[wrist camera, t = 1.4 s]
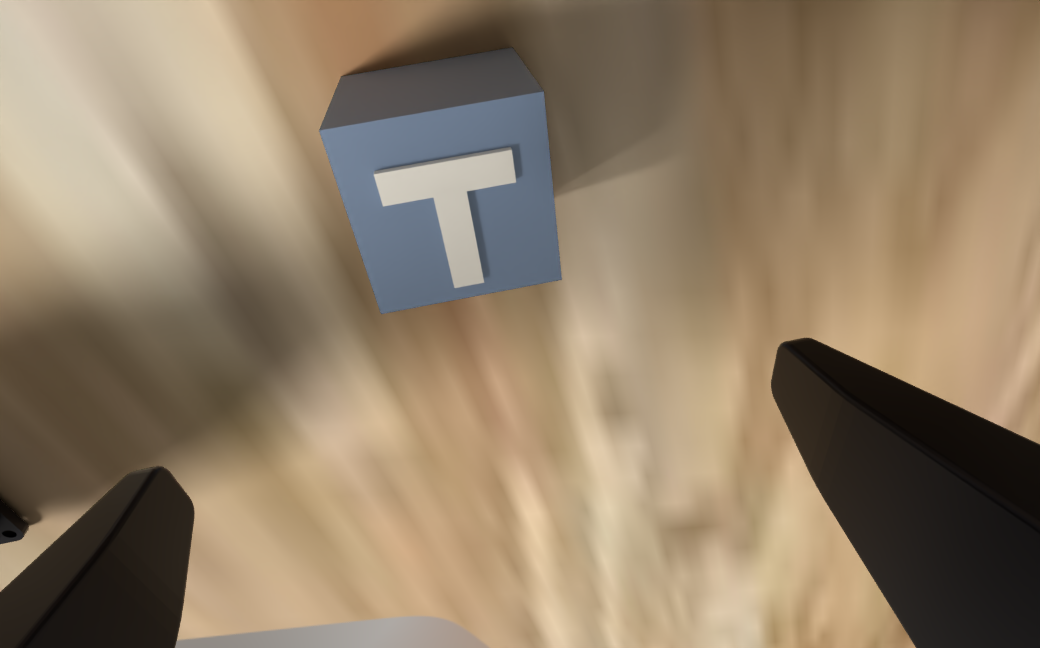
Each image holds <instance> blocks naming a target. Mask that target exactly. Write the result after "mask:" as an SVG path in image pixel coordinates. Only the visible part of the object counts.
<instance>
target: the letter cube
mask: <svg viewBox="0 0 1040 648" xmlns="http://www.w3.org/2000/svg"><path fill="white" fill-rule="evenodd" d="M319 132H320V135H321V138H322V141H323V144H324V147H325V150H326V152H327V155H328V158H329V161H330V164H331V167H332V170H333V173H334V176H335V179H336V182H337V185H338V188H339V191H340V194H341V197H342V200H343V203H344V206H345V209H346V212H347V215H348V218H349V221H350V224H351V227H352V230H353V233H354V236H355V238H356V241H357V244H358V247H359V250H360V253H361V256H362V259H363V262H364V265H365V268H366V271H367V274H368V277H369V280H370V283H371V286H372V289H373V292H374V295H375V298H376V301H377V304H378V307H379V310H380V313H381V314H384V313H389V312H395V311H400V310H405V309H410V308H416V307H421V306H426V305H431V304H437V303H442V302H447V301H452V300H458V299H463V298H468V297H473V296H479V295H484V294H489V293H494V292H500V291H505V290H510V289H516V288H521V287H526V286H531V285H537V284H542V283H547V282H552V281H558V280H562V277H561V267H560V256H559V246H558V235H557V225H556V214H555V204H554V193H553V183H552V172H551V162H550V151H549V141H548V130H547V120H546V109H545V99H544V91H543V90H542V88H541V87H540V85H539V84H538V83H537V81H536V80H535V78H534V77H533V76H532V74H531V73H530V71H529V70H528V68H527V67H526V66H525V64H524V63H523V61H522V60H521V59H520V57H519V56H518V54H517V53H516V52H515V50H514V49H513V47H512V48H506V49H500V50H494V51H488V52H482V53H476V54H470V55H465V56H459V57H453V58H447V59H441V60H435V61H429V62H423V63H418V64H412V65H406V66H400V67H394V68H388V69H382V70H376V71H370V72H365V73H359V74H353V75H347V76H341V78H340V81H339V83H338V85H337V88H336V90H335V93H334V95H333V98H332V100H331V103H330V105H329V107H328V110H327V112H326V115H325V117H324V120H323V122H322V125H321V127H320V130H319Z"/></svg>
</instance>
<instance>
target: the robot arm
mask: <svg viewBox="0 0 1040 648" xmlns="http://www.w3.org/2000/svg"><path fill="white" fill-rule="evenodd" d="M771 389H772V394H773V397H774V399H775V402H776V404H777V406H778V408H779V410H780V412H781V414H782V416H783V418H784V420H785V423H786V425H787V427H788V429H789V431H790V433H791V435H792V437H793V439H794V441H795V443H796V446H797V448H798V450H799V452H800V454H801V456H802V458H803V460H804V462H805V464H806V467H807V469H808V471H809V473H810V475H811V477H812V479H813V480H814V482H815V484H816V486H817V488H818V490H819V491H820V493H821V495H822V496H823V498H824V500H825V502H826V503H827V505H828V506H829V508H830V510H831V511H832V513H833V514H834V516H835V518H836V519H837V521H838V523H839V524H840V526H841V527H842V529H843V531H844V532H845V534H846V535H847V537H848V539H849V540H850V542H851V543H852V545H853V547H854V548H855V550H856V552H857V553H858V555H859V556H860V558H861V560H862V561H863V563H864V564H865V566H866V568H867V569H868V571H869V573H870V574H871V576H872V577H873V579H874V581H875V582H876V584H877V585H878V587H879V589H880V590H881V592H882V593H883V595H884V597H885V598H886V600H887V602H888V603H889V605H890V606H891V608H892V610H893V611H894V613H895V614H896V616H897V618H898V619H899V621H900V623H901V624H902V626H903V627H904V629H905V631H906V632H907V634H908V635H909V637H910V639H911V640H912V642H913V643H914V645H915V647H916V648H1040V444H1038V443H1036V442H1034V441H1031V440H1029V439H1027V438H1025V437H1023V436H1021V435H1018V434H1016V433H1014V432H1012V431H1010V430H1008V429H1006V428H1003V427H1001V426H999V425H997V424H995V423H993V422H990V421H988V420H986V419H984V418H982V417H980V416H978V415H975V414H973V413H971V412H969V411H967V410H965V409H963V408H960V407H958V406H956V405H954V404H952V403H950V402H947V401H945V400H943V399H941V398H939V397H937V396H935V395H932V394H930V393H928V392H926V391H924V390H922V389H920V388H917V387H915V386H913V385H911V384H909V383H907V382H904V381H902V380H900V379H898V378H896V377H894V376H892V375H889V374H887V373H885V372H883V371H881V370H879V369H877V368H874V367H872V366H870V365H868V364H866V363H864V362H861V361H859V360H857V359H855V358H853V357H851V356H849V355H846V354H844V353H842V352H840V351H838V350H836V349H834V348H831V347H829V346H827V345H825V344H823V343H821V342H818V341H816V340H814V339H811V338H801V339H796V340H791V341H786V342H783V343H781V344H780V346H779V347H778V350H777V354H776V359H775V364H774V370H773V375H772V380H771ZM193 524H194V506H193V503H192V501H191V499H190V497H189V496H188V495H187V493H186V492H185V491H184V490H183V488H182V487H181V486H180V484H179V483H178V482H177V481H176V479H175V478H174V477H173V475H172V474H171V473H170V472H169V471H168V470H167V469H166V468H164V467H162V466H156V467H151V468H146V469H141V470H136V471H133V472H130V473H129V474H127V475H126V476H125V477H124V478H123V479H122V480H120V481H119V482H118V483H117V484H116V485H115V486H114V487H113V488H112V489H111V490H110V491H109V492H108V493H106V494H105V495H104V496H103V497H102V498H101V499H100V500H99V501H98V502H97V503H96V504H95V505H94V506H92V507H91V508H90V509H89V510H88V511H87V512H86V513H85V514H84V515H83V516H82V517H81V518H80V519H78V520H77V521H76V522H75V523H74V524H73V525H72V526H71V527H70V528H69V529H68V530H67V531H66V532H65V533H63V534H62V535H61V536H60V537H59V538H58V539H57V540H56V541H55V542H54V543H53V544H52V545H51V546H49V547H48V548H47V549H46V550H45V551H44V552H43V553H42V554H41V555H40V556H39V557H38V558H37V559H35V560H34V561H33V562H32V563H31V564H30V565H29V566H28V567H27V568H26V569H25V570H24V571H23V572H21V573H20V574H19V575H18V576H17V577H16V578H15V579H14V580H13V581H12V582H11V583H10V584H9V585H7V586H6V587H5V588H4V589H3V590H2V591H1V592H0V648H175V645H176V641H177V636H178V632H179V627H180V622H181V617H182V610H183V604H184V596H185V588H186V580H187V572H188V564H189V556H190V548H191V540H192V532H193ZM28 529H29V526H28V524H27V523H26V522H25V521H23V520H22V519H21V518H20V517H19V516H18V515H17V514H16V513H15V512H13V511H12V510H11V509H10V508H9V507H8V506H7V505H6V504H5V503H3V502H2V501H1V500H0V544H3V543H8V542H13V541H18V540H21V539H22V538H23V537H24V535H25V534H26V532H27V531H28Z"/></svg>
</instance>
